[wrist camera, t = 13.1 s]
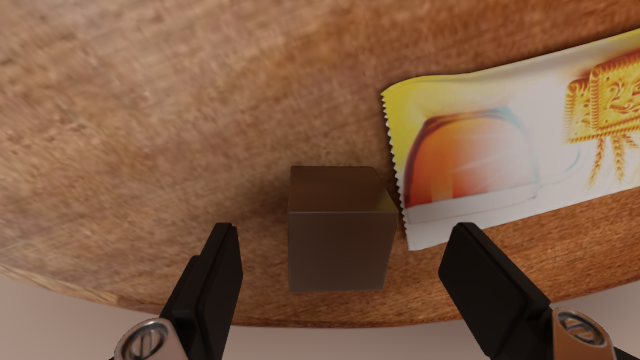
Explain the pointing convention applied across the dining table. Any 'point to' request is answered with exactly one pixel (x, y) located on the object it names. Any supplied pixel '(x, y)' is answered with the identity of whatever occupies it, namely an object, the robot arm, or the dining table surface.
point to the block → (338, 229)
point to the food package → (515, 137)
